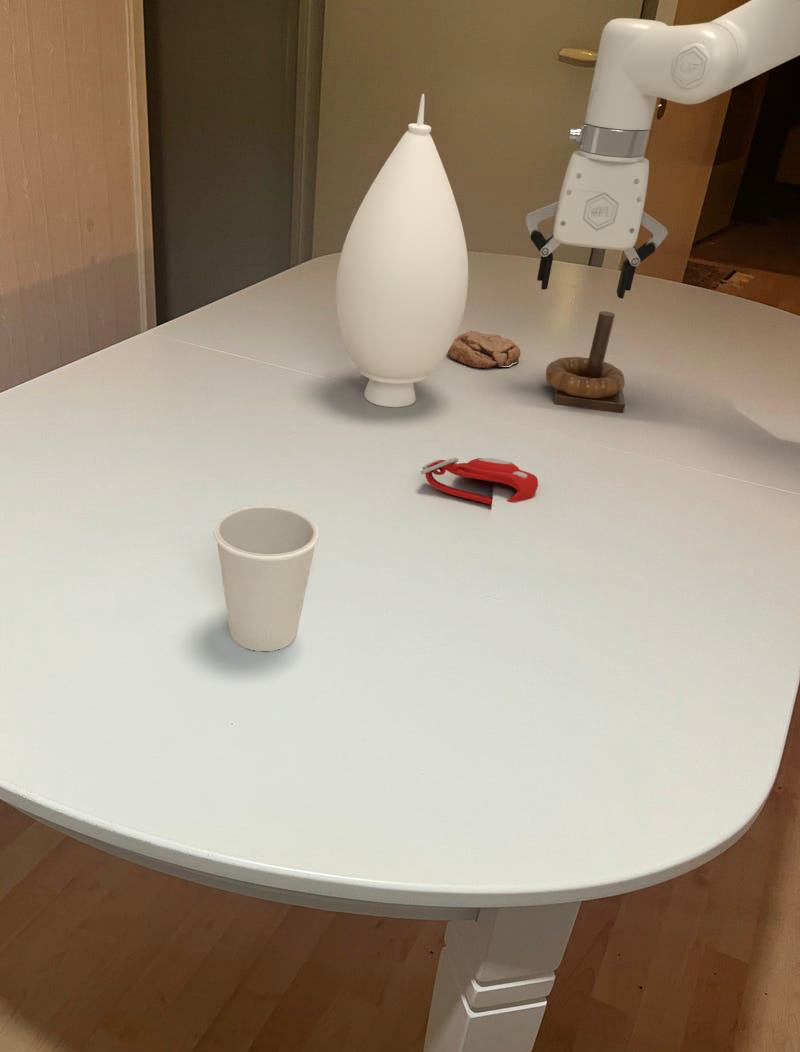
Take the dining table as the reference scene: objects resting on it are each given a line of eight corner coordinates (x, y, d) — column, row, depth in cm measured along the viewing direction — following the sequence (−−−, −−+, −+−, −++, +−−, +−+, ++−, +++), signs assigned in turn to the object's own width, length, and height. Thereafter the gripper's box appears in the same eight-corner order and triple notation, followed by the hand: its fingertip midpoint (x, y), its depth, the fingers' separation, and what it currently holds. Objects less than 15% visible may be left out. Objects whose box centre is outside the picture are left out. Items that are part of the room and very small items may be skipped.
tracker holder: (493, 454, 111) (559, 468, 103) (486, 492, 112) (551, 509, 104) (414, 450, 103) (479, 465, 96) (408, 491, 105) (472, 509, 97)
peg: (619, 388, 134) (640, 307, 127) (623, 413, 126) (645, 328, 120) (554, 380, 135) (571, 299, 128) (554, 403, 128) (572, 319, 121)
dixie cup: (223, 599, 85) (223, 499, 79) (317, 609, 85) (324, 509, 79) (205, 655, 78) (203, 550, 72) (306, 666, 78) (313, 561, 72)
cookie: (529, 369, 138) (533, 348, 136) (460, 371, 135) (464, 350, 134) (502, 345, 146) (506, 325, 144) (437, 347, 143) (439, 327, 141)
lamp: (421, 372, 134) (458, 85, 113) (469, 417, 122) (520, 105, 101) (314, 378, 130) (331, 81, 109) (352, 426, 118) (380, 102, 97)
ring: (619, 378, 134) (623, 359, 132) (624, 405, 125) (629, 386, 124) (544, 368, 135) (547, 350, 133) (544, 395, 126) (548, 376, 125)
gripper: (539, 141, 111) (513, 291, 121) (692, 155, 109) (652, 307, 119) (539, 132, 117) (515, 276, 127) (684, 145, 115) (648, 291, 125)
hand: (581, 291), depth 123 cm, fingers open, 9 cm apart
